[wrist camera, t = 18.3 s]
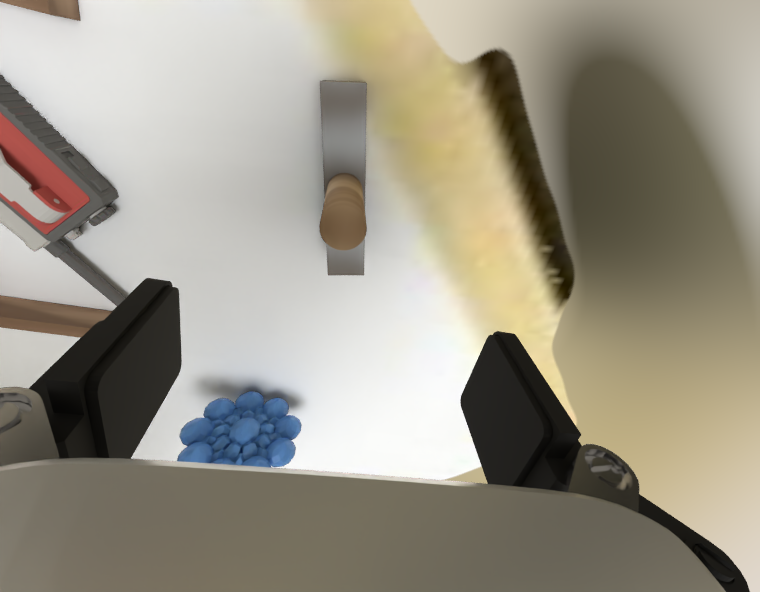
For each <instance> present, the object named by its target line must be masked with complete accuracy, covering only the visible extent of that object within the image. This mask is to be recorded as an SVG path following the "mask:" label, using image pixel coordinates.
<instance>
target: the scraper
mask: <svg viewBox="0 0 760 592" xmlns="http://www.w3.org/2000/svg"><path fill="white" fill-rule="evenodd" d="M320 93H321V118H322V143H323V167H324V192H325V201H324V206H323V211H322V216H321V221H320V234H321V236H322V238H323V240H324V241H325V243H326V244H327V265H328V275H364V239H365V235H366V218H365V167H366V94H367V83H366V82H352V81H326V80H324V81H320Z"/></svg>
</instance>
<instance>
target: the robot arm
mask: <svg viewBox="0 0 760 592" xmlns="http://www.w3.org/2000/svg"><path fill="white" fill-rule="evenodd" d="M180 369H181V335H180V309H179V290H178V288H176V287H172V283H171V282H170V281H164V280H158V279H151V278H146V279H145V280H144V281H143V282H142V283H141V284H140V285H139V286H138V287H137V288H136V289H135V290H134V291H133V292H132V293H131V294H130V295H129V296H128V297H127V298H126V299H125V300H123V301H122V302H121V303H120V304H119V305H118V306H117V307H116V308H115V309H114V310H113V311H112V312H111V313H110V314H109V315H108V316H107V317H106V318H105V319H104V320H102V321H99V322H97V323H96V324H95V325H94V326H93V327H92V328H91V329H90V330H88V331H87V332H86V333H85V334H84V335H83V336H82V337H81V338H80V339H79V340H78V341H77V342H76V343H75V344H74V345H73V346H72V347H71V348H70V349H69V350H68V351H67V352H66V353H65V354H64V355H63V356H62V357H61V358H60V359H59V360H58V361H57V362H56V363H55V364H53V365H52V366H51V367H50V368H49V369H48V370H47V371H46V372H45V373H44V374H43V375H42V376H41V377H40V378H39V379H38V380H37V381H36V382H35V383H34V384H33V385H32V386H31V387H30V388H29V389H27V388H21V387H4V388H0V592H750V591H749V588H748V585H747V582H746V580H745V579H744V577H743V575H742V573H741V571H740V570H739V569H738V568H737V566H736V565H735V564H734V563H733V561H732V560H731V559H730V558H729V557H728V556H727V555H726V554H725V553H724V552H723V551H722V550H721V549H719V548H718V547H716V546H715V545H714V544H712V543H711V542H709V541H708V540H707V539H705V538H704V537H702V536H701V535H699V534H698V533H696V532H694V531H693V530H692V529H690V528H689V527H687V526H686V525H684V524H683V523H681V522H680V521H678V520H677V519H675V518H674V517H672V516H671V515H669V514H668V513H666V512H665V511H663V510H662V509H661V508H659V507H658V506H656V505H655V504H653V503H652V502H650V501H648V500H647V499H646V498H644V497H643V496H641V495H640V494H639V483H638V479H637V477H636V475H635V474H634V472H633V471H632V469H631V468H630V467H629V465H628V464H627V463H626V462H624V461H623V460H622V459H621V458H620V457H619V456H617V455H616V454H614V453H613V452H612V451H610V450H608V449H606V448H604V447H601V446H598V445H594V444H586V445H583V446H581V444H580V442H579V441H578V439H579V437H580V436H581V434H580V432H579V430H578V429H577V427H576V426H575V424H574V423H573V421H572V420H571V418H570V417H569V415H568V414H567V412H566V411H565V409H564V408H563V406H562V405H561V403H560V402H559V400H558V399H557V397H556V395H555V394H554V392H553V391H552V389H551V388H550V386H549V385H548V383H547V382H546V380H545V379H544V377H543V376H542V374H541V373H540V371H539V370H538V368H537V367H536V365H535V364H534V362H533V361H532V359H531V357H530V356H529V354H528V353H527V351H526V350H525V348H524V347H523V345H522V344H521V342H520V341H519V339H518V338H517V336H516V335H515V334H512V333H505V332H499V331H497V332H495V333H494V334H493V335H489V336H488V338H487V340H486V342H485V344H484V346H483V349H482V351H481V353H480V355H479V357H478V360H477V362H476V364H475V366H474V369H473V371H472V373H471V375H470V378H469V380H468V382H467V384H466V386H465V389H464V391H463V393H462V396H461V408H462V410H463V413H464V416H465V419H466V422H467V425H468V428H469V431H470V433H471V436H472V439H473V442H474V445H475V448H476V451H477V454H478V457H479V459H480V462H481V465H482V468H483V471H484V474H485V477H486V480H487V482H488V484H482V483H470V482H458V481H446V480H433V479H421V478H408V477H395V476H381V475H368V474H355V473H341V472H327V471H314V470H300V469H286V468H271V467H257V466H242V465H227V464H213V463H198V462H180V461H162V460H143V459H131V457H132V455H133V453H134V452H135V450H136V448H137V446H138V445H139V443H140V441H141V439H142V438H143V436H144V434H145V432H146V431H147V429H148V427H149V425H150V424H151V422H152V420H153V418H154V417H155V415H156V413H157V411H158V410H159V408H160V406H161V404H162V403H163V401H164V399H165V397H166V396H167V394H168V392H169V390H170V389H171V387H172V385H173V383H174V382H175V380H176V378H177V376H178V374H179V372H180Z"/></svg>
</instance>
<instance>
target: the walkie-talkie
mask: <svg viewBox="0 0 760 592" xmlns="http://www.w3.org/2000/svg"><path fill="white" fill-rule="evenodd" d="M25 100H26V99H25V98H24V97H21V96H20V95H19V94H18V91H17V90H14V89H13V88H12V87H11V84H10V83H7V82H6V81H5V80H4V77H3V76H2V75H0V222H1V223H2V224H3V225H4V226H6V227H7V228H8V229H9V230H11V231H12V232H13V233H14V234H15V235H17V236H18V237H19V238H20V239H22V240H23V241H24V242H25V244H26V245H27V246H28V247H29V248H30V249H32V250H33V251H37V250H38V249H40V248H42V247H44V248H45V249H46V250H47V251H49V252H50V253H51V254H52V255H53V256H55V257H59V258H60V259H61V260H62V261H63V262H65V263H66V264H67V265H68V266H69V267H71V268H72V269H73V270H74V271H75V272H77V273H78V274H79V275H80V276H81V277H83V278H84V279H85V280H86V281H87V282H89V283H90V284H91V285H92V286H93V287H95V288H96V289H97V290H98V291H99V292H101V293H102V294H103V295H104V296H106V297H107V298H108V299H109V300H110V301H112V302H113V303H114V304H115V305H116V306H118V305H119V304H120V303H121V302H122V301H123V300H125V299H126V298H125V297H124V296H123V295H122V294H121V293H119V292H118V291H117V290H116V289H115V288H114V287H112V286H111V285H110V284H109V283H108V282H106V281H105V280H104V279H103V278H102V277H101V276H99V275H98V274H97V273H96V272H95V271H94V270H92V269H91V268H90V267H89V266H88V265H87V264H85V263H84V262H83V261H82V260H81V259H80V258H78V257H77V256H76V255H75V254H74V253H73V252H71V251H70V247H68V246H67V245H66V244H65V243H64V242H63V241H61V240H60V239H61V238H63V237H68V238H69V239H70V240H74V239H76V238H77V237H79V236H80V235H82V233H81V232H80V231H79V228H78V227H80V226H81V225H82V224H84V223H85V222H87V221H88V220H89V219H91V220H90V221H89V223H90V224H91V225H92V226H96V225H98V224H100V223H101V222H103V221H104V220H106V219H107V218H109V217H110V216H111V215H113V214H114V213H115V210H114V209H113V208H112V207H108V208H107V207H106V206H107V205H109V204H110V203H111V202H113V201H114V200H115V199H116V198H118V197H119V196H118V193H117V190H116V189H115V188H114V187H113V186H112V185H111V184H110V183H109V182H108V181H107V180H106V179H105V178H104V177H103V176H102V175H101V174H100V173H99V172H98V171H97V170H96V169H95V168H94V167H93V166H92V165H91V164H90V163H89V162H88V161H87V160H86V159H85V158H84V157H83V156H82V155H81V154H80V153H79V152H78V151H77V150H76V149H75V148H74V147H73V146H72V145H71V144H68V143H67V142H66V141H65V140H66V139H65V138H62V137H61V136H60V135H59V132H58V131H55V130H54V129H53V126H52V125H49V124H48V123H47V122H46V119H45V118H42V117H41V116H40V115H39V112H38V111H35V110H34V109H33V108H32V107H33V106H32V105H31V104H28V103H27V102H26V101H25Z"/></svg>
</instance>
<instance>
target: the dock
mask: <svg viewBox="0 0 760 592" xmlns="http://www.w3.org/2000/svg"><path fill="white" fill-rule="evenodd" d="M0 2H3V3H7V4H11V5H15V6H19V7H23V8H26V9H30V10H34V11H38V12H42V13H46V14H50V15H55V16H60V17H65V18H70V19H74V20H79V21H80V15H79V7H78V0H0ZM111 312H112V311H107V310H99V309H92V308H85V307H78V306H71V305H63V304H56V303H49V302H42V301H35V300H27V299H20V298H13V297H6V296H0V327H2V328H10V329H18V330H26V331H34V332H42V333H50V334H58V335H66V336H74V337H82V336H83V335H84V334H85V333H86V332H87V331H88V330H90V329H91V328H92V327H93V326H94V325H95V324H96V323H97V322H99V321H102V320H104V319H105V318H106V317H107V316H108V315H109V314H110V313H111Z"/></svg>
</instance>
